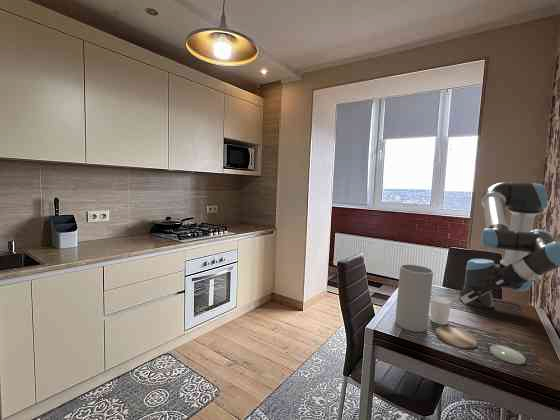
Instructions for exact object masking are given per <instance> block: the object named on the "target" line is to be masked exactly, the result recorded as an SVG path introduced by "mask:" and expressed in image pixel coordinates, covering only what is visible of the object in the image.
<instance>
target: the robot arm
mask: <svg viewBox="0 0 560 420" xmlns="http://www.w3.org/2000/svg"><path fill="white" fill-rule="evenodd" d="M480 204H481V206H482V208H483V210H484V219H485V220H484V221H485V228H482V230H481V234H480V244H481V246H483V247H486V248H491V249H498V250H505V252H504V258H503V259H500V260H499V264H498V263H495V261H494V260H492V259H487V258H486V259H485V258H471V259H469V260H468V261H467V264H466V267H465V277H464V286H463V287H462V289H461V291H460V293H459V295H458V299H459V301H461V303H463V304H464V305H465V304H466V305H468V306H472V307H476V308H479V309H480V308H481V309H493V307H494V299H493V295H492V291H493V292H495V291H497V290H499V289H505V290H511V291H515V292H527V291H529V289H530V288H531V285H532V283H533V281H534V279H535V280H539V279H540V277H541V276H542V275H544V274H547V273H549V272H551V271H554V270H557V269H558V268H560V242H559V241H556V240H555V239H554V237H553V236H552V235H551V234H550V233H549V232H548V231H547V230H545V229H539V228H537V229H533V228H534V223H535V222H534V221H535V218H536V216H537V215H539V214H540V213H541V210H545V209H546V208H547V205H548V191H547V187H546V186H545V185H544V184H542V183H534V182H505V181H501V182H498V183H495V184H492V185H490V186H489V187H487V188H486V189H485V190H484V191H483V192H482V193H481V196H480ZM506 207H508V209H507V210H508V212H510V213H511V216H510V221H509V222H510V223H509V222H508V217H507V216H508V215H507V213H506V212H507V211H506Z"/></svg>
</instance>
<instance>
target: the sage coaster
mask: <svg viewBox="0 0 560 420" xmlns="http://www.w3.org/2000/svg"><path fill="white" fill-rule="evenodd" d="M489 352H490V353H491V354H492V356H493V357H495V358H497V359H499V360H501V361H504V362H506V363H509V364H515V365H523V364H525V363H526V357H525V356H524V354H522V353H520V352H519V351H517V350H515V349H513V348H510V347H508V346H504V345H496V344H492V345H491V346H490V347H489Z"/></svg>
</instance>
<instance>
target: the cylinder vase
mask: <svg viewBox="0 0 560 420" xmlns="http://www.w3.org/2000/svg"><path fill="white" fill-rule="evenodd" d="M433 277H434V270H433V269H431V268H429V267H427V266H422V265H417V264H409V263H407V264H405V263H404V264H401V265H400V266H399V277H398V287H397V296H396V297H397V299H396V300H397V301H396V308H395V309H396V310H395V319H394V321H395V324H396V325H397V326H398V327H400V328H402V329H404V330H405V331H410V332H414V333H423V332H426V331H427V330H428V323H429V317H430V314H429V313H430V307H431V297H432V287H433V286H432V285H433Z"/></svg>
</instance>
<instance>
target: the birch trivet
mask: <svg viewBox="0 0 560 420" xmlns="http://www.w3.org/2000/svg"><path fill="white" fill-rule="evenodd" d="M435 336H436V337H437V338H438V340H439V339H440V340H441V341H442V342H444V343H446V344H448V345H451V346H455V347H458V348H461V349H474V348H476V347H477V346H478V344H477V343H478V340H477V338H476V337H475V336H473V335H472V334H470V333H469V332H467V331H465V330H462V329H459V328H456V327H451V326H437V328H435Z"/></svg>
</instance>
